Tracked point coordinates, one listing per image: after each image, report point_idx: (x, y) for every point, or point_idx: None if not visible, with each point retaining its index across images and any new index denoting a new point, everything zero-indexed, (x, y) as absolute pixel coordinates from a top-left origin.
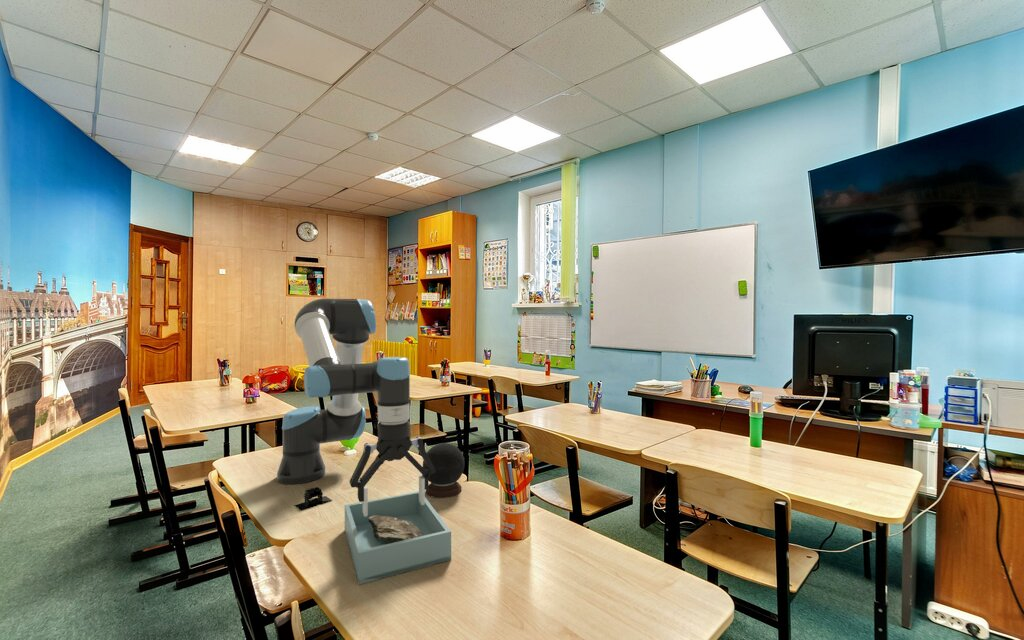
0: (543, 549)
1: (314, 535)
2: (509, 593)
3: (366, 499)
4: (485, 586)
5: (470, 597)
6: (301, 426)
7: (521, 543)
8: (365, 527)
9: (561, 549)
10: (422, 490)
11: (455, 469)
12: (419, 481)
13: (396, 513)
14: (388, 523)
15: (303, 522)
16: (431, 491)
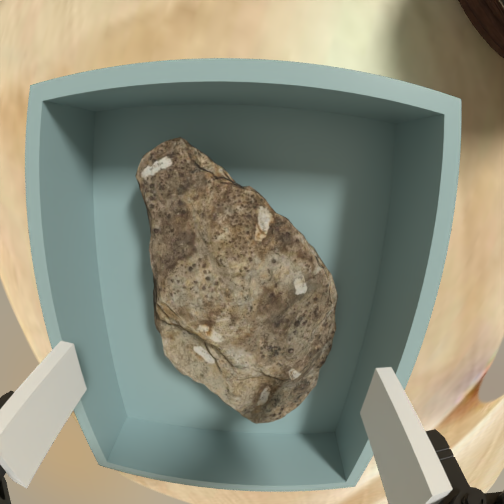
0: (480, 433)
1: (19, 106)
2: (355, 501)
3: (47, 442)
4: (339, 489)
5: (304, 498)
6: None
7: (479, 411)
8: (147, 141)
9: (492, 436)
10: (383, 472)
11: None
12: (411, 473)
13: (299, 105)
14: (211, 285)
15: (19, 14)
16: (475, 2)
